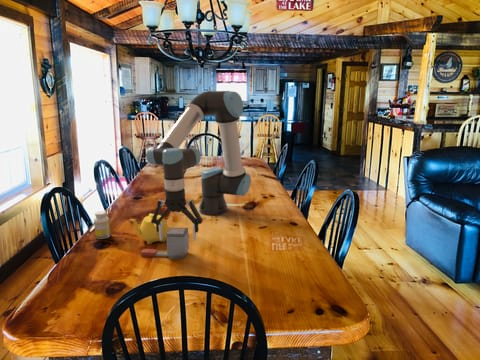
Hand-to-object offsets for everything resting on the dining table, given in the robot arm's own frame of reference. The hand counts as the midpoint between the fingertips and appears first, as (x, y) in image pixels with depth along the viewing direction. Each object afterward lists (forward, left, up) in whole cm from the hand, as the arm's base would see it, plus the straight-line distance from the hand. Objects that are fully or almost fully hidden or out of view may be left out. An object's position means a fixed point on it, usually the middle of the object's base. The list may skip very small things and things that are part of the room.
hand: (178, 239), depth 151 cm
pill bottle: (-17, -39, -7) cm, 43 cm away
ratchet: (0, -6, -7) cm, 9 cm away
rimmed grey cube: (0, 0, -5) cm, 5 cm away
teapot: (-14, -16, -7) cm, 22 cm away
